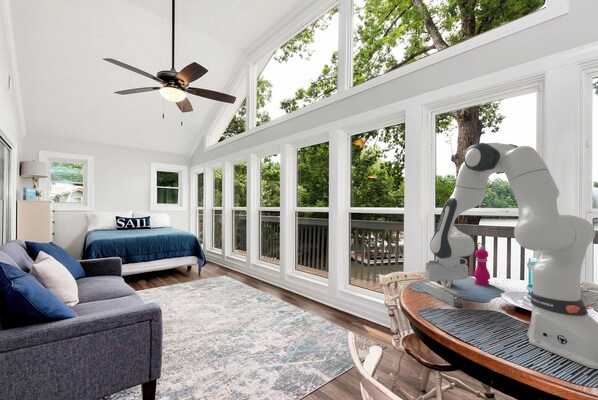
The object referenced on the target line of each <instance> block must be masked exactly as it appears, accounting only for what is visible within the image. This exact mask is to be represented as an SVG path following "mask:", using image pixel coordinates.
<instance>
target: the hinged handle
mask: <svg viewBox="0 0 598 400" xmlns="http://www.w3.org/2000/svg"><path fill="white" fill-rule="evenodd" d="M428 283H429V284H432V285H434V286H436V287H439V288H441V289H443V290H445V291H448V292H450V293H452V295H454V296H456V297H459V298H460V297H462V298H468V295H467V294H464V293H463V292H458V291H455V290H453V289H451V288H450V289H449V288H446V287H444V286H442V285H440V284H437V282H436V281H428Z"/></svg>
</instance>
